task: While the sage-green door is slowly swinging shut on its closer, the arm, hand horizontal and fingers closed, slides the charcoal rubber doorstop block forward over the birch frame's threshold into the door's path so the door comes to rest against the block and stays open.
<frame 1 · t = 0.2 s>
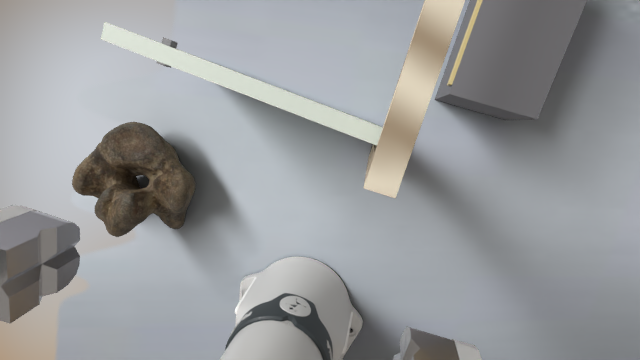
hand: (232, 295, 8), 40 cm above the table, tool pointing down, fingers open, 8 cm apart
door frame: (421, 25, 43), on the table
decorative stone: (160, 172, 52), on the table
doorstop block: (493, 45, 43), on the table
door: (275, 94, 38), point 9 cm above the table, hinge at 86.1°
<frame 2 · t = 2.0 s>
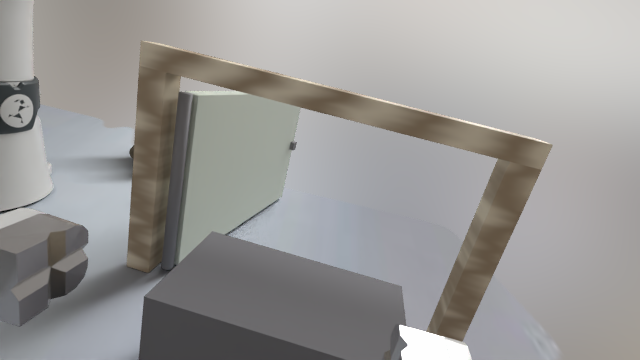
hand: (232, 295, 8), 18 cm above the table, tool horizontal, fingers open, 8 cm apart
door frame: (295, 309, 35), on the table
door: (245, 161, 45), point 9 cm above the table, hinge at 80.0°
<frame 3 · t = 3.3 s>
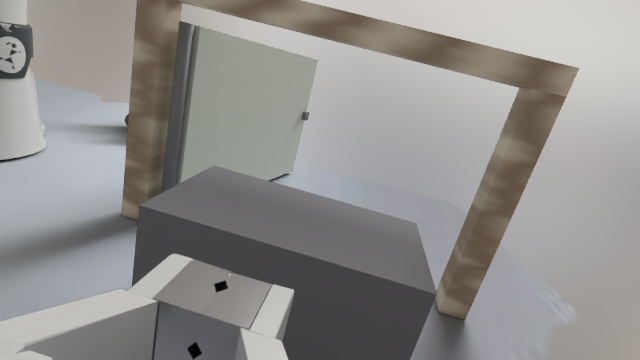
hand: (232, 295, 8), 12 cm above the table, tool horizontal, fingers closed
door frame: (299, 262, 33), on the table
doorstop block: (272, 328, 25), on the table
door: (253, 121, 43), point 9 cm above the table, hinge at 76.3°
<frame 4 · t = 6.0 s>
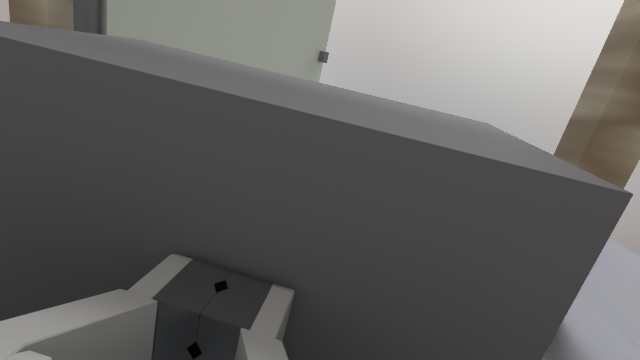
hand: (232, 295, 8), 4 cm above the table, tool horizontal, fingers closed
door frame: (288, 223, 22), on the table
doorstop block: (238, 308, 14), on the table, touching gripper
door: (242, 43, 31), point 10 cm above the table, hinge at 70.0°
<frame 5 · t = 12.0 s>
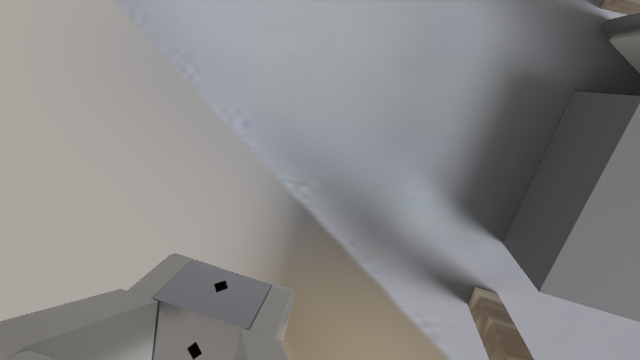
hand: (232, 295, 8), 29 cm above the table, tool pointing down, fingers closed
door frame: (537, 178, 34), on the table
doorstop block: (580, 184, 34), on the table
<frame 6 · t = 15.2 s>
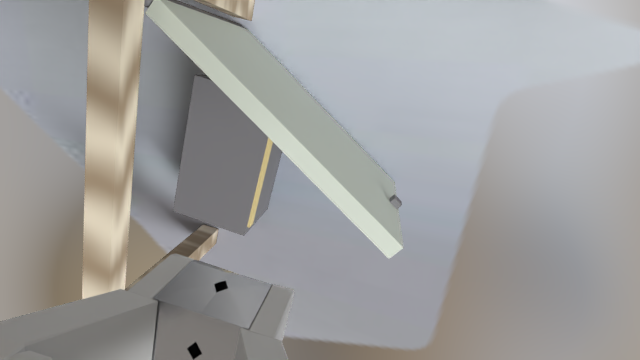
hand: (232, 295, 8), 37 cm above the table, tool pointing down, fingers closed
door frame: (223, 139, 47), on the table
doorstop block: (249, 145, 47), on the table
door: (298, 115, 35), point 10 cm above the table, hinge at 58.7°
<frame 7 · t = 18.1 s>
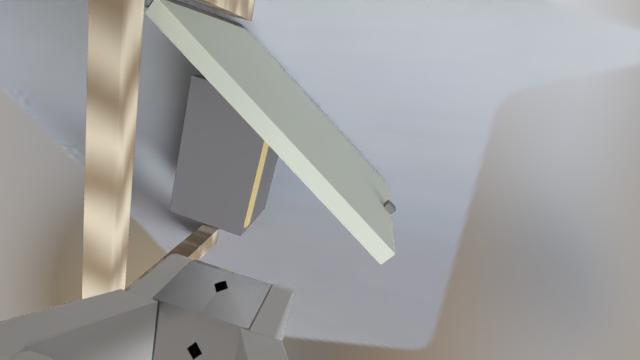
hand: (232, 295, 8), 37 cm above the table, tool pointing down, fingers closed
door frame: (223, 139, 47), on the table
doorstop block: (246, 145, 47), on the table
door: (295, 118, 35), point 10 cm above the table, hinge at 56.9°
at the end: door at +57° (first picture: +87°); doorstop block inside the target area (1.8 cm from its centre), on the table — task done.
